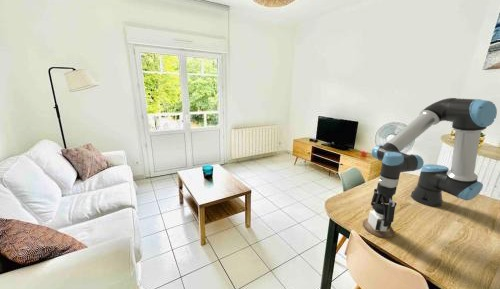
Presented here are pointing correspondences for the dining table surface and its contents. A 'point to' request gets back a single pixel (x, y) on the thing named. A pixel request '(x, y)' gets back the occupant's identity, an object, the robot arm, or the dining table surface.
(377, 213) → the medicine bottle
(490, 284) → the dining table surface
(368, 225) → the walnut coaster
